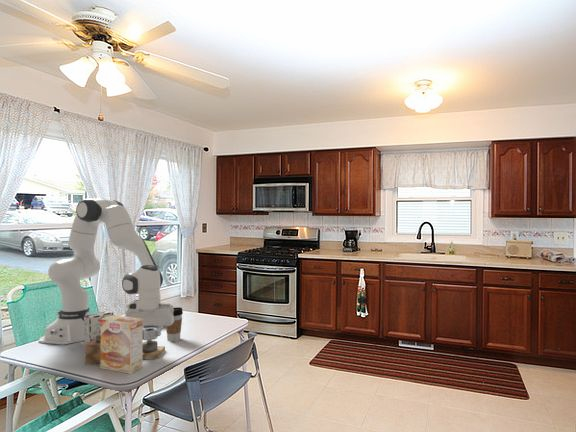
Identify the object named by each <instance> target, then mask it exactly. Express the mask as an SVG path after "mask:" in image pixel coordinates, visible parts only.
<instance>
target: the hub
mask: <svg viewBox="0 0 576 432" xmlns="http://www.w3.org/2000/svg"><path fill="white" fill-rule="evenodd" d="M165 351H166V346H164V345H158V341H157V340H144V341H142V360H158V359H159V358H160V356H162V354H163V353H164V352H165Z"/></svg>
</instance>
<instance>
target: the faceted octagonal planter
mask: <svg viewBox="0 0 576 432" xmlns="http://www.w3.org/2000/svg"><path fill="white" fill-rule="evenodd" d="M157 331H159V328H157V327H144V328H142V341H147V340H152V341H155V340H157V338H159V336H156V332H157Z"/></svg>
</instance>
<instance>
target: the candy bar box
mask: <svg viewBox="0 0 576 432" xmlns="http://www.w3.org/2000/svg"><path fill="white" fill-rule="evenodd" d="M112 315H114V311H112V310H103V311H100V312H97V313H92V314H89V315H87V316H84V340H83V341H84V348H85V344H87V343H89V342H90V341H92V340H94V339H96V336H97V335H101V319H102V318H104V317H108V316H112Z"/></svg>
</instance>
